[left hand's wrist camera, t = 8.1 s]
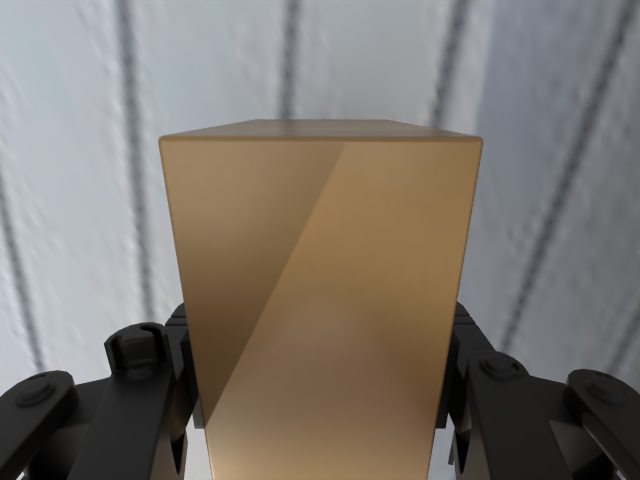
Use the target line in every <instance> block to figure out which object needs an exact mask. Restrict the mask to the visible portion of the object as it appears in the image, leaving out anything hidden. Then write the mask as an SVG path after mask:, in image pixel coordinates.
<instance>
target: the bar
mask: <svg viewBox="0 0 640 480" xmlns="http://www.w3.org/2000/svg"><path fill="white" fill-rule="evenodd" d="M158 143H159V149H160V156H161V162H162V168H163V174H164V181H165V187H166V193H167V199H168V206H169V212H170V218H171V224H172V231H173V237H174V243H175V249H176V256H177V262H178V268H179V274H180V280H181V287H182V293H183V299H184V305H185V312H186V318H187V324H188V330H189V337H190V343H191V349H192V355H193V362H194V368H195V374H196V380H197V387H198V393H199V399H200V405H201V411H202V418H203V424H204V430H205V436H206V443H207V449H208V455H209V461H210V468H211V474H212V480H427V478H428V472H429V466H430V459H431V453H432V447H433V441H434V435H435V429H436V423H437V417H438V411H439V405H440V399H441V393H442V387H443V381H444V375H445V369H446V363H447V357H448V351H449V345H450V339H451V333H452V327H453V321H454V315H455V309H456V303H457V297H458V291H459V285H460V279H461V273H462V267H463V261H464V255H465V249H466V243H467V237H468V231H469V225H470V219H471V213H472V207H473V201H474V195H475V189H476V183H477V177H478V171H479V165H480V159H481V153H482V147H483V139H482V138H480V137H478V136H473V135H467V134H462V133H456V132H451V131H445V130H440V129H434V128H428V127H423V126H417V125H412V124H406V123H401V122H395V121H390V120H284V119H256V120H250V121H245V122H239V123H233V124H227V125H222V126H216V127H210V128H204V129H199V130H193V131H187V132H181V133H176V134H170V135H164V136H162V137H159V141H158Z"/></svg>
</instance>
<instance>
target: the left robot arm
mask: <svg viewBox="0 0 640 480" xmlns="http://www.w3.org/2000/svg"><path fill="white" fill-rule="evenodd" d="M104 346H105V350H106V354H107V357H108V361H109V365H110V368H111V372H112V374H111V376H110V377H108V378H105V379H101V380H96V381H92V382H87V383H83V384H78V385H75V383H74V380H73V377H72V376H71V375H70V374H69V373H68V372H65V371H58V370H56V371H49V372H44V373H40V374H37V375H34V376H31V377H29V378H27V379H25V380H23V381H21V382H19V383H17V384H16V385H15V386H13V387H12V388H11V389H9V390H8V391H7V392H5V393H4V394H3V395H2V396H1V397H0V480H16V479H17V478H18V477H19V475H20V474H21V473H22V472H24V476H23V478H22V479H21V480H184V473H185V464H186V455H187V446H188V441H187V434H186V426H187V424H188V422H189V419H190V417H191V415H193V421H194V426H195V429H204V424H203V418H202V411H201V405H200V399H199V393H198V387H197V380H196V374H195V368H194V362H193V355H192V349H191V343H190V337H189V330H188V324H187V318H186V312H185V305H184V303H182V304H181V305H179V306H178V307H177V308H176V310H175V311H174V312H173V314H172V315H171V318H169V319H168V321H167V322H166V324H165V326H163V325H162V324H158V323H154V322H148V323H139V324H135V325H130V326H128V327H126V328H123V329H121V330H119V331H117V332H116V333H114V334H113V335H111V336H110V337H109V338H108V339H107V340H106V342H105V343H104ZM448 412H449V414H450V417H451V419H452V422H453V424H454V426H455V429H454V434H453V439H452V444H451V450H450V455H449V462H448V464H450V465H453V462H454V463H455V472H456V480H621V479H620V478H619V476H618V475H617V474H616V473H617V471H618V470H619V471H620V472H621V474H622V475H623V476H624V477H625V478H626V480H640V394H639V393H638V392H636V391H635V390H634V389H633V388H631V387H630V386H628V385H627V384H626V383H624V382H623V381H621V380H619V379H617V378H615V377H613V376H611V375H608V374H606V373H602V372H599V371H595V370H588V369H579V370H574V371H573V372H571V373H570V374H569V375H568V378H567V381H566V384H564V383H560V382H555V381H551V380H546V379H541V378H537V377H534V376H530V375H529V373H528V372H527V370H526V369H525V367H524V366H523V365H522V364H521V363H520V362H518V361H517V360H516V359H514V358H513V357H510V356H508V355H506V354H504V353H501V352H497V351H495V349H494V348H493V346H492V345H491V344H490V342H489V341H488V340H487V338H486V337H485V335H484V334H483V333H482V331H481V330H480V328H479V327H478V326H477V325H476V324H475V322H474V320H473V319H472V317H470V315H469V313H468V312H467V311H466V309H465V308H464V306H463V305H462V304H460V303H459V302H457V303H456V309H455V315H454V321H453V327H452V333H451V339H450V345H449V351H448V357H447V363H446V369H445V375H444V381H443V387H442V393H441V399H440V405H439V411H438V417H437V423H436V428H442V429H445V428H446V422H447V416H448Z"/></svg>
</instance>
